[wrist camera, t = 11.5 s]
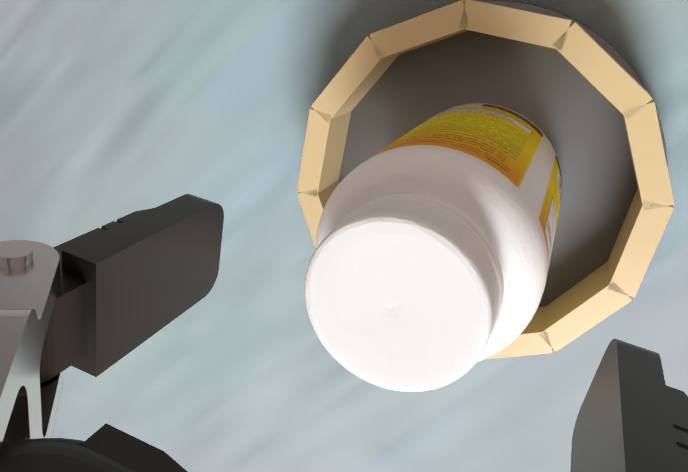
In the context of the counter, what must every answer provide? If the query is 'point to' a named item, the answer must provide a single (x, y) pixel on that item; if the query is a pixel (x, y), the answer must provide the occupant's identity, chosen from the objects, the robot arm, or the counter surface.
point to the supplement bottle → (436, 248)
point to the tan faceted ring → (540, 108)
